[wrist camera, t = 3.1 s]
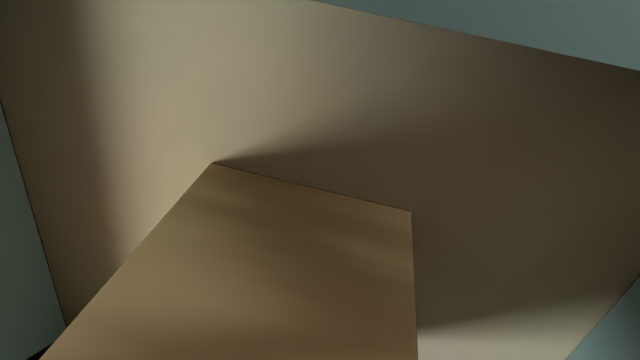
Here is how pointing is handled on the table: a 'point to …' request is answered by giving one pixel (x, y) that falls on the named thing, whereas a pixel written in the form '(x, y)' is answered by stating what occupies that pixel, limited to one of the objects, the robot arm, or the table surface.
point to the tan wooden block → (257, 280)
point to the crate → (401, 3)
